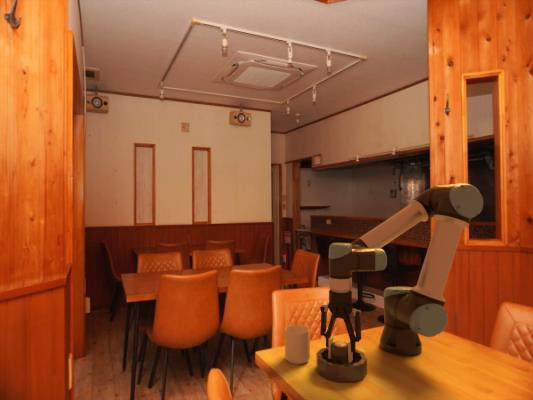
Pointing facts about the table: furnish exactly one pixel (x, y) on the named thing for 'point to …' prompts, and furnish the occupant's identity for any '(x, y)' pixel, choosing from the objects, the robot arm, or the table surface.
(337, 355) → the brown short cylinder
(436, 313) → the robot arm
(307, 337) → the mug
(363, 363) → the brown ring
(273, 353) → the table surface
